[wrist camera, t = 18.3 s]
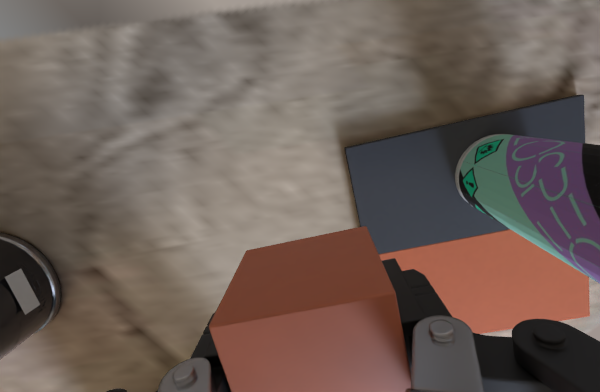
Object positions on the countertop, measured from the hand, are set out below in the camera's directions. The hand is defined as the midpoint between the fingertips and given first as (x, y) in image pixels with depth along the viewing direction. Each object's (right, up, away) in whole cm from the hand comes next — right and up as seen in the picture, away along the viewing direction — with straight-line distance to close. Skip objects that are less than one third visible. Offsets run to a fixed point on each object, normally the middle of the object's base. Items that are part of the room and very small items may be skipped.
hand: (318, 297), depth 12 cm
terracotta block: (0, 0, 0) cm, 0 cm away
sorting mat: (+12, +1, +13) cm, 18 cm away
